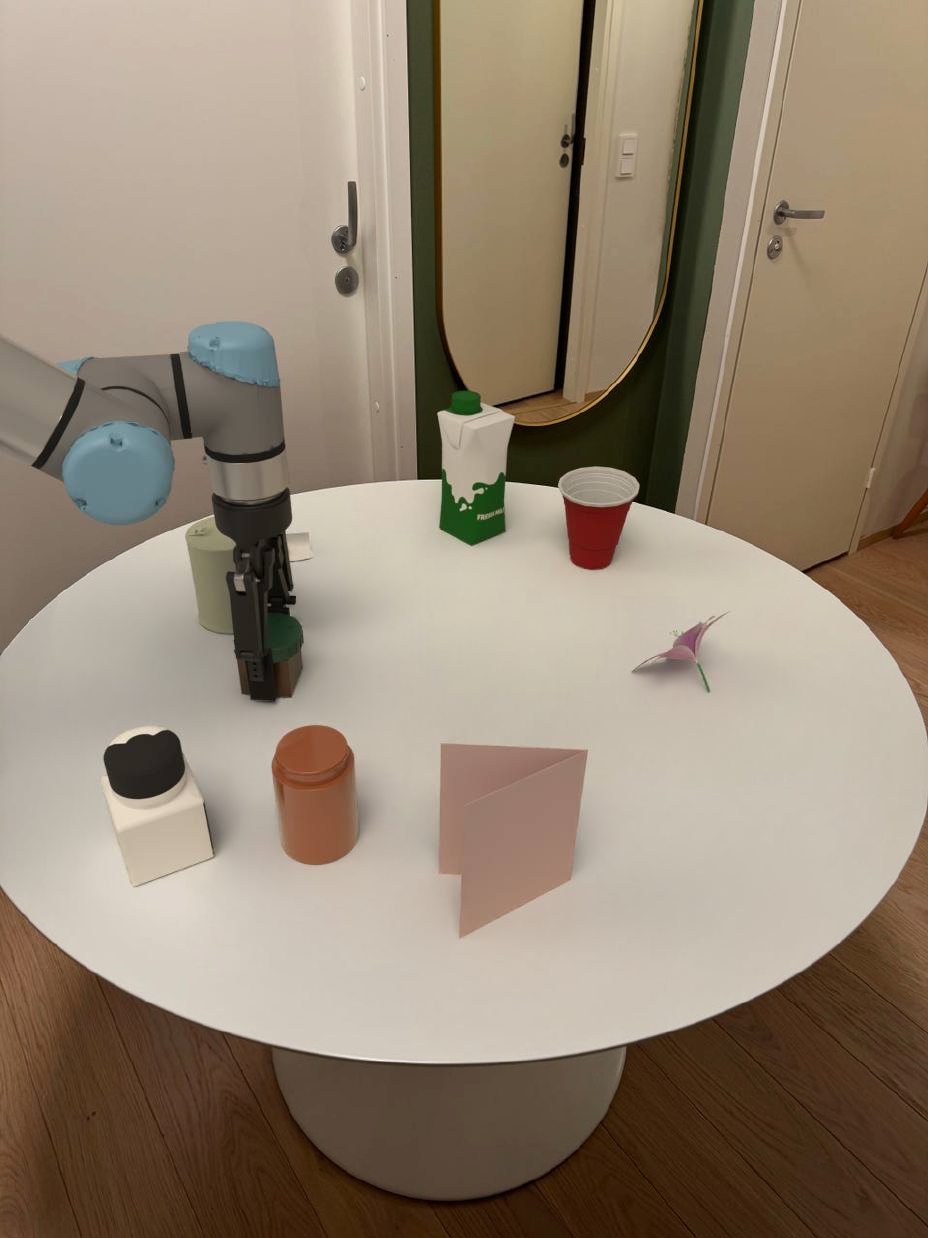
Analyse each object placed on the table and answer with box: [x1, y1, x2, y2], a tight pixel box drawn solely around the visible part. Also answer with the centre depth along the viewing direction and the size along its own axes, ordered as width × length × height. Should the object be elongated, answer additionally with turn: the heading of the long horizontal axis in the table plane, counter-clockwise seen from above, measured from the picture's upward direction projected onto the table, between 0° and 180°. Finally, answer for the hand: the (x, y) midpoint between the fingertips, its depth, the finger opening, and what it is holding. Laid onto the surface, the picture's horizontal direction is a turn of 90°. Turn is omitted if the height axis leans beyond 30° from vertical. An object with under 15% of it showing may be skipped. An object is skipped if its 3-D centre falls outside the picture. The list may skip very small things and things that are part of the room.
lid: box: [232, 612, 305, 663], centre depth 95 cm, size 7×7×2 cm
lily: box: [632, 610, 731, 693], centre depth 99 cm, size 12×12×10 cm
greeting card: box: [438, 742, 589, 940], centre depth 69 cm, size 11×7×15 cm, turn 88°
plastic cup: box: [557, 466, 640, 571], centre depth 120 cm, size 11×11×12 cm
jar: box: [270, 724, 360, 866], centre depth 76 cm, size 7×7×10 cm
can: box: [184, 516, 271, 635], centre depth 106 cm, size 9×9×12 cm
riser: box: [236, 648, 304, 698], centre depth 97 cm, size 6×6×5 cm
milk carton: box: [436, 390, 516, 546], centre depth 124 cm, size 9×9×20 cm
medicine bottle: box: [100, 725, 215, 887], centre depth 74 cm, size 7×7×12 cm
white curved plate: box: [286, 531, 312, 562], centre depth 121 cm, size 4×8×3 cm, turn 103°
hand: (273, 676), depth 98 cm, fingers closed on lid, 7 cm apart
